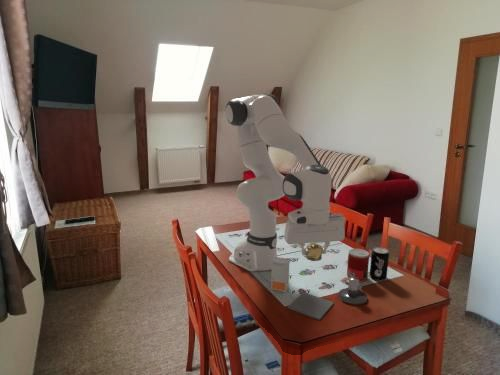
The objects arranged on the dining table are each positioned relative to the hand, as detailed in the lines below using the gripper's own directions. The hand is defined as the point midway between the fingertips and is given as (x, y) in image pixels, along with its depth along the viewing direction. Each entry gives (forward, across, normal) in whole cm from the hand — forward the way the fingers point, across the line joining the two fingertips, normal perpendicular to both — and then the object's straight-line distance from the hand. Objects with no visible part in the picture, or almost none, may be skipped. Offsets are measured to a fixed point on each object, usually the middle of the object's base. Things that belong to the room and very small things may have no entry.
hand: (313, 253), depth 125 cm
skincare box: (+20, +8, -14) cm, 25 cm away
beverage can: (+20, -34, -16) cm, 42 cm away
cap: (+1, 0, 0) cm, 1 cm away
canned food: (+20, -25, -17) cm, 37 cm away
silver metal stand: (+20, -17, -3) cm, 26 cm away
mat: (+20, 0, 0) cm, 20 cm away
